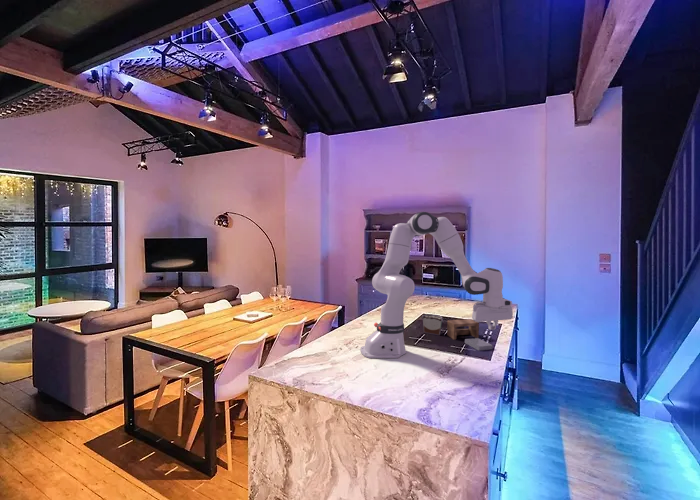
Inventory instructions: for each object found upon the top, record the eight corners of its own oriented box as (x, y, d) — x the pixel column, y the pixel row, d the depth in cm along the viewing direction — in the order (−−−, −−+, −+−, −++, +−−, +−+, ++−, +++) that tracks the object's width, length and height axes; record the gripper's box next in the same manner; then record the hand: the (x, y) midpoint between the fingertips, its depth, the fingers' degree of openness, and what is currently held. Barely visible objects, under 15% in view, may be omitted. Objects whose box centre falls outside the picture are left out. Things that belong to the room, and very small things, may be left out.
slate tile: (478, 351, 182) (479, 346, 182) (464, 343, 194) (464, 339, 193) (492, 350, 184) (492, 345, 184) (477, 342, 196) (477, 338, 196)
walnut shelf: (453, 339, 199) (454, 324, 198) (446, 335, 207) (447, 320, 206) (478, 337, 202) (479, 322, 201) (470, 333, 210) (471, 319, 209)
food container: (445, 332, 211) (445, 316, 210) (442, 335, 206) (442, 318, 205) (425, 329, 217) (425, 313, 217) (421, 332, 212) (421, 315, 211)
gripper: (477, 304, 171) (476, 332, 172) (515, 301, 176) (514, 329, 177) (469, 301, 177) (469, 328, 178) (506, 298, 182) (506, 325, 183)
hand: (491, 329), depth 178 cm, fingers closed
